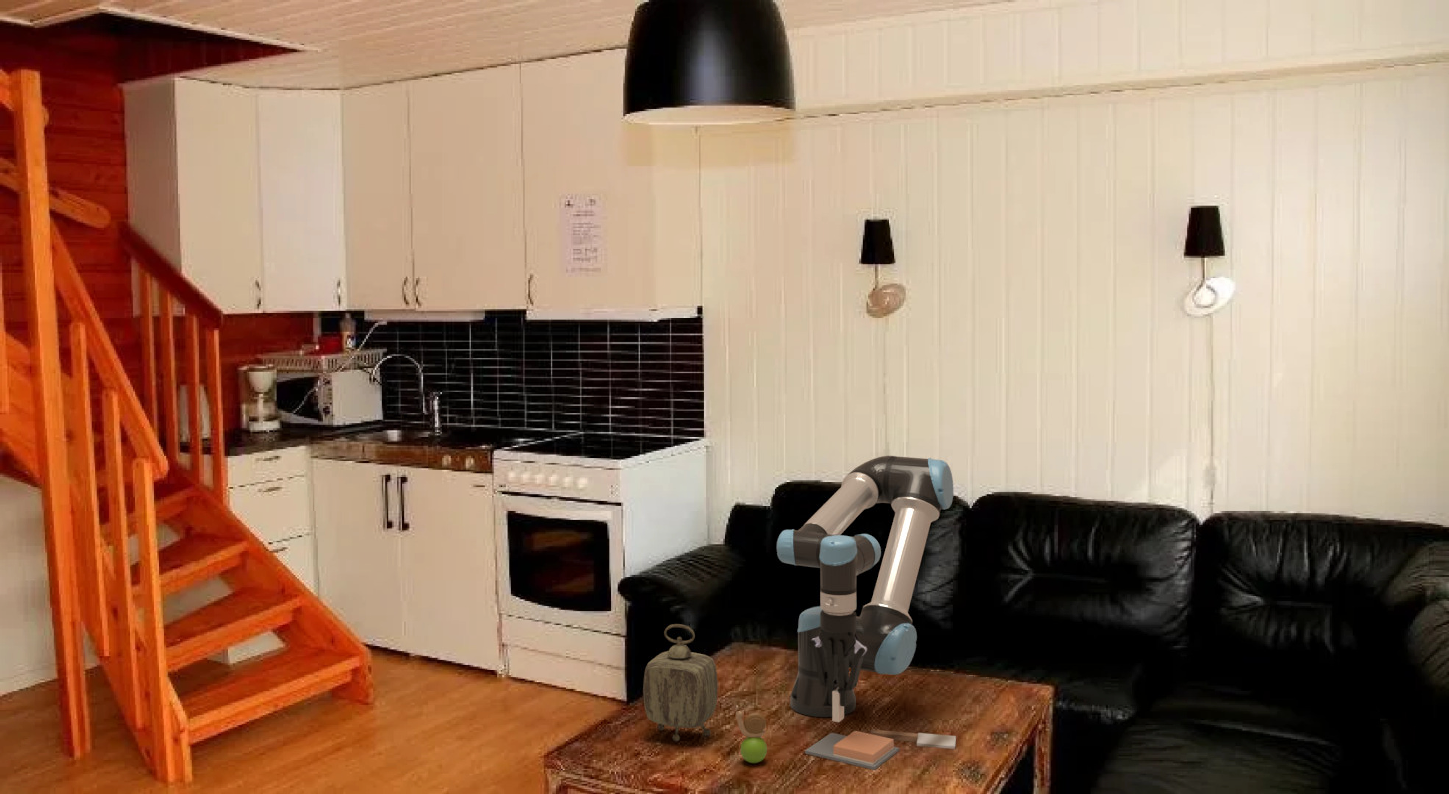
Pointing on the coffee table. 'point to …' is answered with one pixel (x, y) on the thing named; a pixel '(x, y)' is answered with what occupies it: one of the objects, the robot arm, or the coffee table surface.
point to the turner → (919, 738)
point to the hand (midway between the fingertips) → (838, 719)
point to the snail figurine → (752, 736)
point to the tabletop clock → (680, 687)
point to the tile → (863, 747)
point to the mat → (826, 751)
